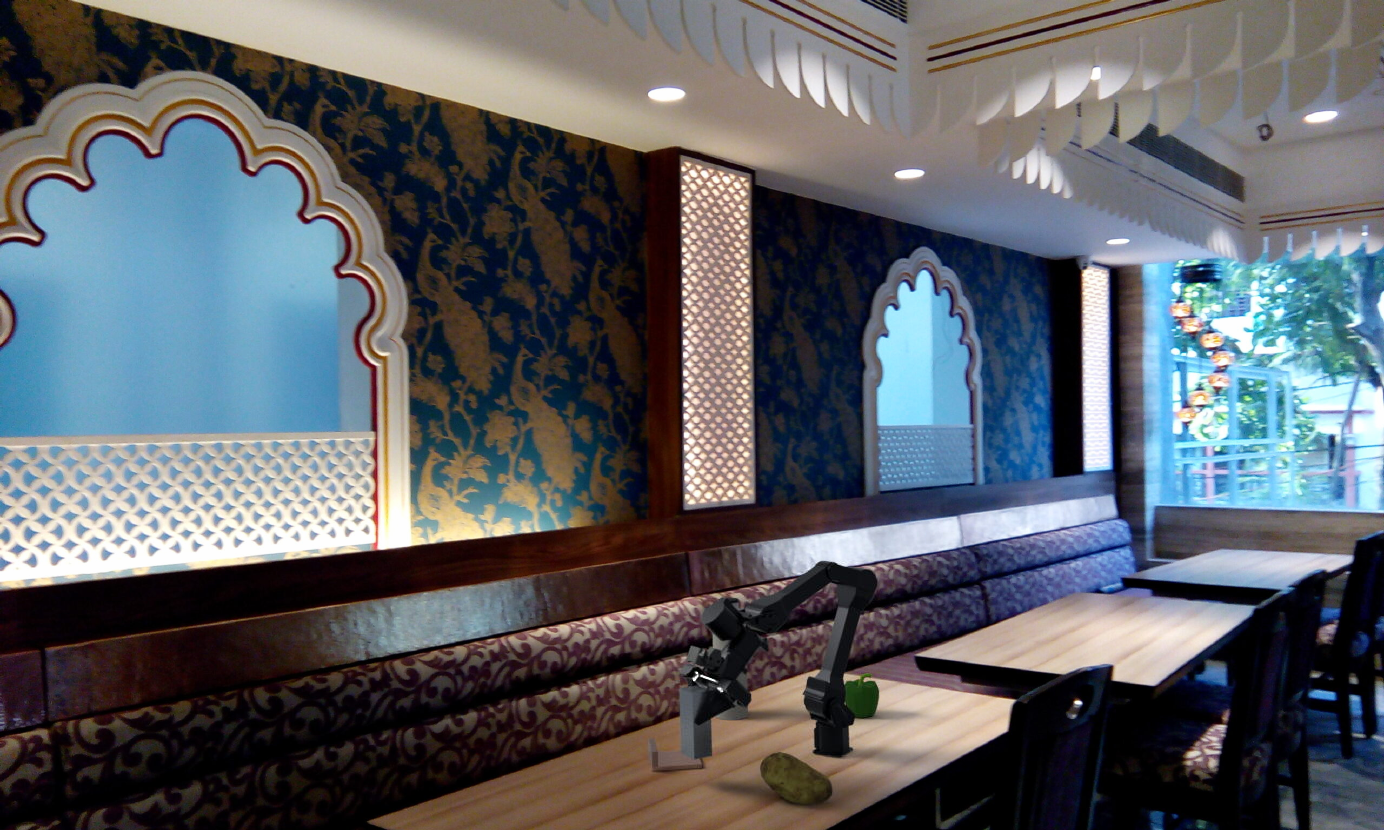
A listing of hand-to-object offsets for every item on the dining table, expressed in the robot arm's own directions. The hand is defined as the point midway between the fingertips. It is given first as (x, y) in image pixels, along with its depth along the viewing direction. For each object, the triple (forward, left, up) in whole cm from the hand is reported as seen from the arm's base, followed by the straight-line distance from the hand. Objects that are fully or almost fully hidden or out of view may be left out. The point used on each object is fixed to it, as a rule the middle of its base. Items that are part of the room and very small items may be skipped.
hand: (689, 720), depth 195 cm
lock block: (-1, -1, -7) cm, 7 cm away
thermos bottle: (+19, -45, -12) cm, 51 cm away
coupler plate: (+10, -9, -12) cm, 18 cm away
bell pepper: (-8, -60, -12) cm, 62 cm away
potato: (-22, -2, -12) cm, 25 cm away
